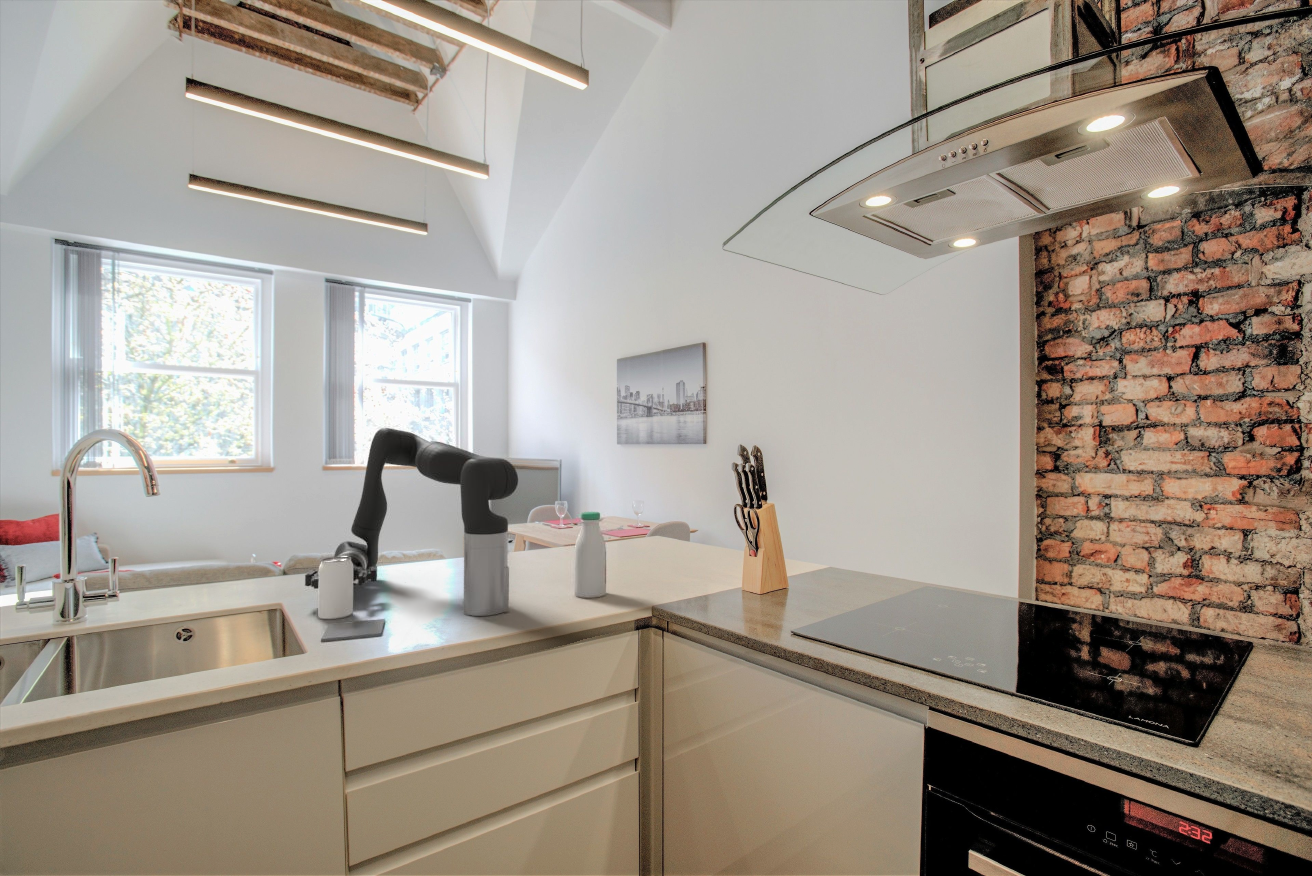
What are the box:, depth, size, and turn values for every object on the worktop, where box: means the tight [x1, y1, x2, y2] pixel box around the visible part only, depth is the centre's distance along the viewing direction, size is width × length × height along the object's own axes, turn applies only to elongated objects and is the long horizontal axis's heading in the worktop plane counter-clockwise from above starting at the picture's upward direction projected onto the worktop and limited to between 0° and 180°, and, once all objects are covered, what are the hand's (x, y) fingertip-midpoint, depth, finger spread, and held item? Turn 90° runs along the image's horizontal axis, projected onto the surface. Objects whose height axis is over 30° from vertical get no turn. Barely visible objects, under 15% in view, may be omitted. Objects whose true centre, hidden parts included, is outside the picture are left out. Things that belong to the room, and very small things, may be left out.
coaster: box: [320, 618, 386, 643], centre depth 115 cm, size 10×10×1 cm
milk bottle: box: [573, 511, 607, 599], centre depth 144 cm, size 8×8×20 cm
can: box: [317, 556, 354, 620], centre depth 125 cm, size 6×6×12 cm
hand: (338, 582), depth 127 cm, fingers open, 8 cm apart
